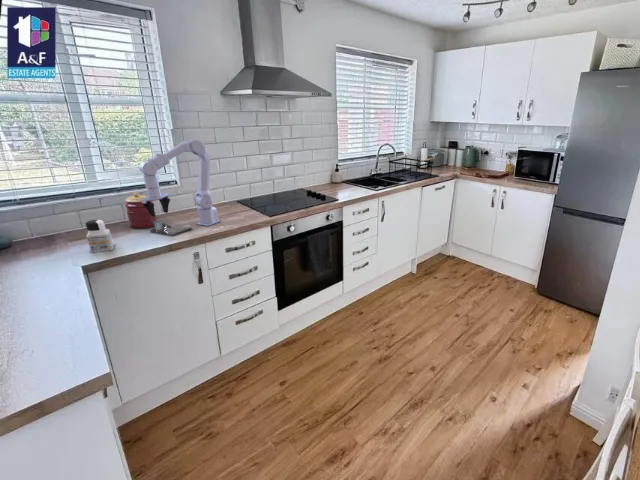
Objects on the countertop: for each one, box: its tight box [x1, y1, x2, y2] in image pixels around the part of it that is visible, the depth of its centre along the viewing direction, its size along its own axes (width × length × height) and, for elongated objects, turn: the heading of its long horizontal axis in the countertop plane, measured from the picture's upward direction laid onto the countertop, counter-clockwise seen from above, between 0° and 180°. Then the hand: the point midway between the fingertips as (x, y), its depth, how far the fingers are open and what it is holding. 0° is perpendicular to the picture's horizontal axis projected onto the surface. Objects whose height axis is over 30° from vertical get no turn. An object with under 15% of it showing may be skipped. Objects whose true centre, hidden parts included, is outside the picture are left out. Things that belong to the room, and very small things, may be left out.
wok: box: [152, 219, 171, 230], centre depth 190 cm, size 6×10×4 cm, turn 70°
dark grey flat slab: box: [150, 223, 192, 237], centre depth 193 cm, size 12×15×1 cm
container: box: [85, 219, 115, 253], centre depth 165 cm, size 8×8×13 cm
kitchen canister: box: [124, 191, 158, 229], centre depth 196 cm, size 13×13×18 cm
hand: (159, 214), depth 188 cm, fingers open, 7 cm apart
